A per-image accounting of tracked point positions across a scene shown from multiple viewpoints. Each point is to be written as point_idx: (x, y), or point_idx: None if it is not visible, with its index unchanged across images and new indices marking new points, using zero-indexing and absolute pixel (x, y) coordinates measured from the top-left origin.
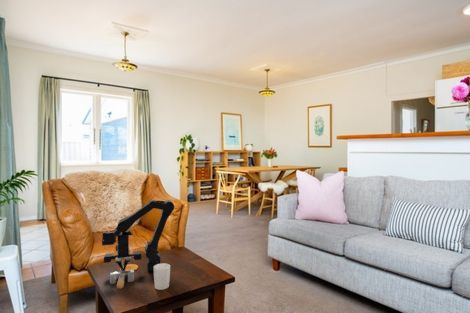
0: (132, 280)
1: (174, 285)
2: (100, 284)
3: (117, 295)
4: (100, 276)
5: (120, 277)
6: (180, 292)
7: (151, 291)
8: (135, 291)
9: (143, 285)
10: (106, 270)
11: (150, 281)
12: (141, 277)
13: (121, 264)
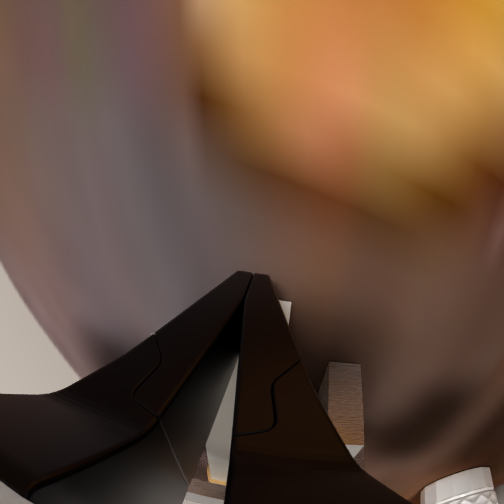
0: None
1: (499, 471)
2: (80, 377)
3: None
4: (2, 223)
5: (222, 462)
6: None
7: None
8: None
9: (388, 475)
10: (7, 43)
11: (452, 452)
12: (442, 406)
13: (177, 500)
